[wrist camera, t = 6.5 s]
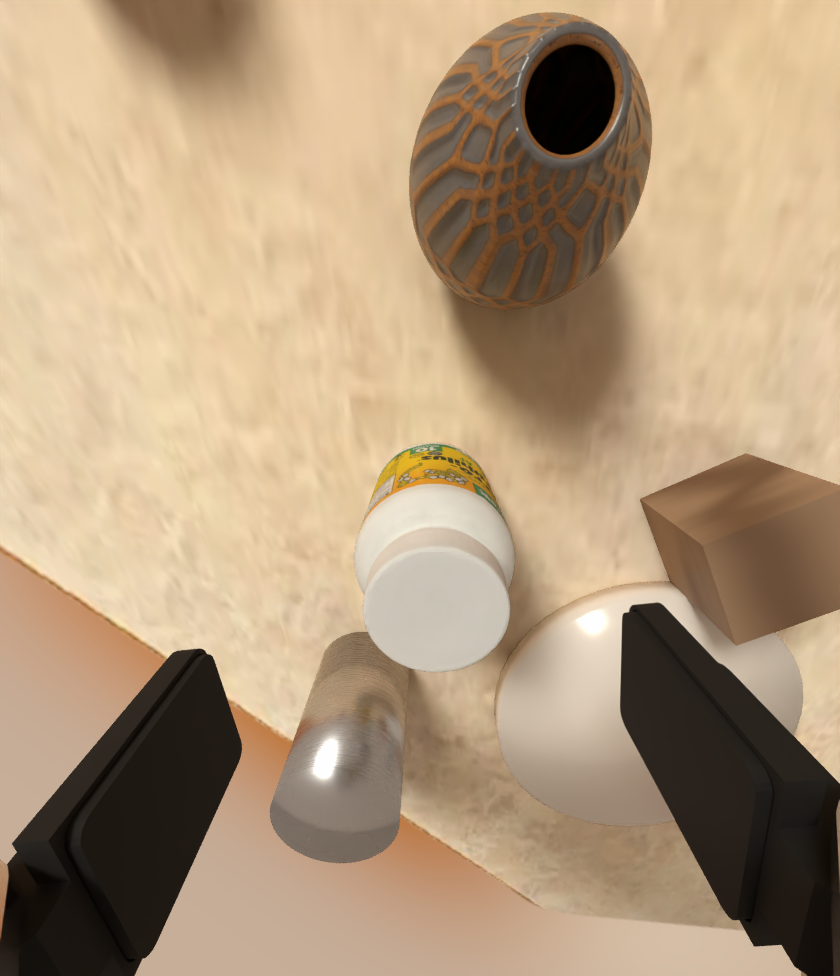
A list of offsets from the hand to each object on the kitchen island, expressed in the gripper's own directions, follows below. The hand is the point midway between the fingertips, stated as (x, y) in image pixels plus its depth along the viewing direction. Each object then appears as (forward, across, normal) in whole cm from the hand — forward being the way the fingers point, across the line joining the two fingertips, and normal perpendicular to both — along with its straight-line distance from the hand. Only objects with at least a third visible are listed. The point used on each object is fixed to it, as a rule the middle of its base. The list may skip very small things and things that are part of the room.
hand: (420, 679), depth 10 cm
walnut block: (+11, -14, +2) cm, 18 cm away
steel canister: (+12, +4, +10) cm, 16 cm away
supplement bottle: (+12, -1, 0) cm, 12 cm away
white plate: (+12, -11, +14) cm, 21 cm away
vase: (+12, -5, -12) cm, 17 cm away
